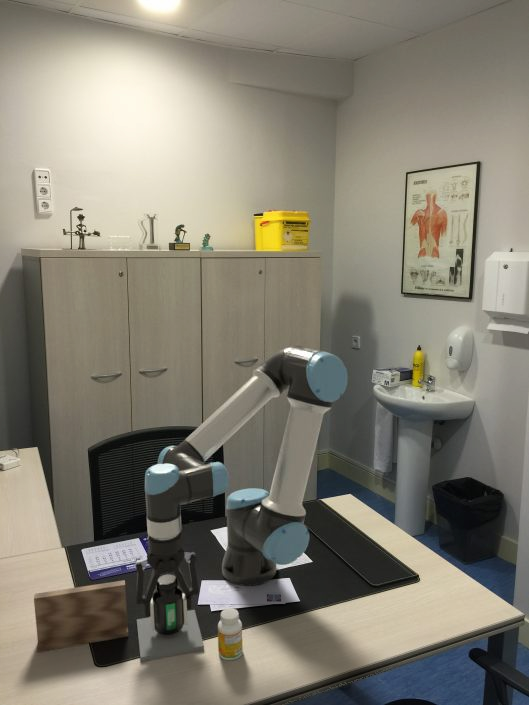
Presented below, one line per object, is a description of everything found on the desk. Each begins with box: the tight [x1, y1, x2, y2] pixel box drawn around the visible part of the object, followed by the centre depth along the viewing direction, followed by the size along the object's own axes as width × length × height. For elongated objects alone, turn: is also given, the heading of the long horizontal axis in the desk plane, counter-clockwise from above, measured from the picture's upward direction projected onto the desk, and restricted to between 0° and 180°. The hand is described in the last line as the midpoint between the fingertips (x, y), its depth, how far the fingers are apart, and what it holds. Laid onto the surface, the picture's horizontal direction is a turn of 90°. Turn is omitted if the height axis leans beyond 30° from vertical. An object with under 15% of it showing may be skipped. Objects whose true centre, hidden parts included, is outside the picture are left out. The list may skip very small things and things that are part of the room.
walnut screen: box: [33, 579, 129, 653], centre depth 140 cm, size 20×6×12 cm, turn 105°
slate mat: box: [136, 609, 205, 662], centre depth 141 cm, size 14×14×1 cm
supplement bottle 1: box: [152, 573, 184, 635], centre depth 139 cm, size 7×7×12 cm
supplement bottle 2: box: [217, 607, 244, 661], centre depth 134 cm, size 5×5×10 cm
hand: (169, 624), depth 140 cm, fingers closed on supplement bottle 1, 7 cm apart
